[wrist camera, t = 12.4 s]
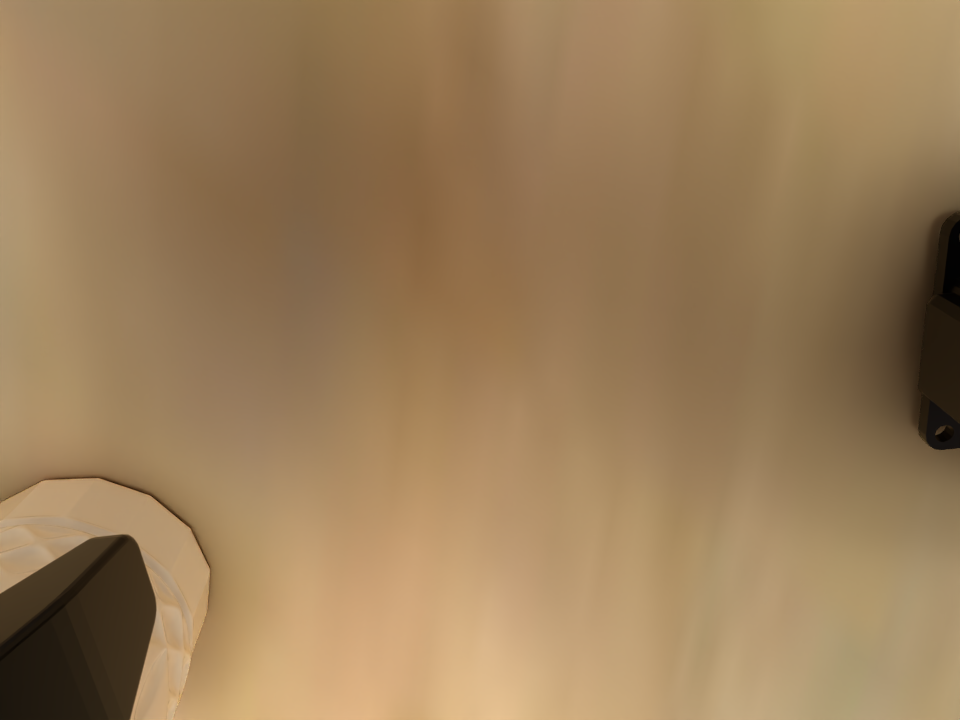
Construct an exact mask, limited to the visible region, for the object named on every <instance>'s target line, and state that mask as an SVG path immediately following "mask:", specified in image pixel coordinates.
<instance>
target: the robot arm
mask: <svg viewBox="0 0 960 720" xmlns="http://www.w3.org/2000/svg"><path fill="white" fill-rule="evenodd" d="M959 234H960V212H958V213H955V214H953V215H952V216H950V217H949V218H948V219H947V220H946V221H945V223H944V224H943V225H942V228H941V232H940V238H939V247H938V256H937V265H936V274H935V283H934V292H933V297H932V298H931V299H930V301H929V302H928V304H927V308H926V317H925V326H924V335H923V345H922V354H921V363H920V372H919V381H918V389H919V390H920V391H921V392H922V399H921V408H920V417H919V426H918V431H919V436H920V437H921V438H922V440H923V441H925V442H926V443H927V444H928V445H929V446H930V447H932V448H934V449H938V450H945V449H955V448H960V241H959ZM944 425H946V427H945V430H944V431H943V432H942V433H940V434H937V435H935V433H936V431H937V429H939V428H940V427H941V426H944ZM156 611H157V606H156V597H155V593H154V590H153V587H152V584H151V581H150V578H149V575H148V572H147V569H146V566H145V563H144V560H143V557H142V554H141V551H140V548H139V545H138V543H137V542H136V540H135V539H134V538H133V537H131V536H130V535H128V534H119V535H109V536H100V537H94V538H90V539H88V540H86V541H85V542H83V543H82V544H80V545H78V546H77V547H75V548H73V549H72V550H70V551H69V552H67V553H65V554H64V555H62V556H60V557H59V558H57V559H56V560H54V561H52V562H51V563H49V564H47V565H46V566H44V567H42V568H41V569H39V570H38V571H36V572H34V573H33V574H31V575H29V576H28V577H26V578H25V579H23V580H21V581H20V582H18V583H16V584H15V585H13V586H12V587H10V588H8V589H7V590H5V591H3V592H2V593H0V720H130V719H131V715H132V711H133V707H134V703H135V699H136V695H137V691H138V687H139V683H140V679H141V675H142V671H143V667H144V663H145V660H146V656H147V652H148V648H149V644H150V640H151V636H152V632H153V628H154V624H155V619H156Z"/></svg>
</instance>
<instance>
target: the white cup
mask: <svg viewBox="0 0 960 720" xmlns="http://www.w3.org/2000/svg"><path fill="white" fill-rule="evenodd" d="M119 534H128V535H130V536H131V537H133V538H134V539H135V540H136V542H137V543H138V545H139V548H140V551H141V554H142V557H143V560H144V563H145V566H146V569H147V572H148V575H149V578H150V581H151V584H152V587H153V590H154V593H155V597H156V606H157V611H156V619H155V624H154V628H153V632H152V636H151V640H150V644H149V648H148V652H147V656H146V660H145V663H144V667H143V671H142V675H141V679H140V683H139V687H138V691H137V695H136V699H135V703H134V707H133V711H132V715H131V719H130V720H173V718H174V714H175V711H176V709H177V707H178V704H179V702H180V699H181V696H182V693H183V689H184V686H185V682H186V679H187V675H188V671H189V667H190V662H191V655H192V653H193V650H194V647H195V645H196V642H197V639H198V636H199V634H200V631H201V628H202V625H203V623H204V620H205V617H206V614H207V608H208V596H209V583H210V568H209V566H208V564H207V562H206V560H205V558H204V556H203V554H202V552H201V550H200V548H199V545H198V543H197V541H196V539H195V537H194V535H193V533H192V531H191V529H190V528H189V527H188V526H187V525H185V524H184V523H183V522H182V521H180V520H179V519H178V518H177V517H176V516H174V515H173V514H172V513H171V512H170V511H168V510H167V509H166V508H165V507H164V506H162V505H161V504H160V503H159V502H158V501H156V500H155V499H154V498H153V497H151V496H150V495H147V494H144V493H141V492H138V491H135V490H133V489H130V488H127V487H124V486H121V485H118V484H115V483H112V482H109V481H106V480H103V479H100V478H82V479H58V480H44V481H41V482H39V483H37V484H35V485H34V486H32V487H30V488H28V489H26V490H24V491H22V492H20V493H18V494H16V495H14V496H12V497H10V498H8V499H6V500H4V501H3V502H1V503H0V593H2V592H3V591H5V590H7V589H8V588H10V587H12V586H13V585H15V584H16V583H18V582H20V581H21V580H23V579H25V578H26V577H28V576H29V575H31V574H33V573H34V572H36V571H38V570H39V569H41V568H42V567H44V566H46V565H47V564H49V563H51V562H52V561H54V560H56V559H57V558H59V557H60V556H62V555H64V554H65V553H67V552H69V551H70V550H72V549H73V548H75V547H77V546H78V545H80V544H82V543H83V542H85V541H86V540H88V539H90V538H94V537H100V536H109V535H119Z"/></svg>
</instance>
